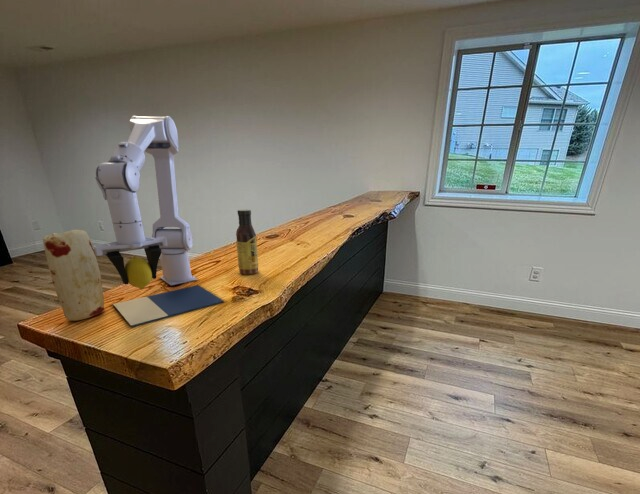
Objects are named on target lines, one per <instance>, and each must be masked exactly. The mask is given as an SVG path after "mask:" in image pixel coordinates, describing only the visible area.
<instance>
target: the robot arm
mask: <svg viewBox="0 0 640 494" xmlns="http://www.w3.org/2000/svg"><path fill="white" fill-rule="evenodd" d="M130 117H131V118H130V119H129V131H130V133H129V136H128V139H127V141H120V142H118V144H117V146H116V148H115V150H114V151H113V153H112V154H111V155H110V157H109V159H108V160H107V161H106V162H101V163H100V164H99V165H97V166H96V168H95V177H94V178H95V182H96V184H97V186H98V188H99V189H100V191H101V194H102V197H103V199H104V200H105V201H106V202H107V205H108V206H107V207H108V210H109V215H110V219H111V223H112V227H113V231H114V232H113V233H114V236H115V241H111V242H107V243H102V244H94V245H92V247H93V250H94V253H95V256H96V257H100V256H104V255H105V256H106V257H107V259H108V260H109V261H110V262H111V264H112V265H113V267H114V268H115V269H116V271H117V272H118V274H119V277H120V279H121V281H122V283H123V284H124V285H130V283H129V282H128V278H127V275H126V272H125V261H124V260H125V259H124V257H123V256H122V253H123V252H124V253H125V252H132V251H136V250H137V251H138V250H144V253H145V256H146V261H147V262H148V264H149V265H150V268H151V271H152V280H156V279H157V272H158V266H159V265H158V264H159V262H160V266H161V273H162V275H161V276H160V277H159V279H160V280H162V281H163V282H165V283H167V284H168V285H169V286H175V285H181V284H185V283H190V282H195V281H197V280H198V278H197V277H195V276H194V275H192V270H191V269H192V268H191V261H190V256H189V251H190V250H191V249H192V248H193V243H194V241H193V240H194V239H193V234H192V230H191V226H190V223H188V222H187V221H186V220H184V219H183V218H182V217H180V213H179V203H178V202H179V201H178V192H177V182H176V171H175V170H176V169H175V155H176V154H178V153H179V152H180V151H179V135H178V128H177V126H176V123H175V121H174V119H173V118H172V117H171V116H170V115H166V116H141V115H140V116H138V115H132V116H130ZM145 153H146V154H149V155H151V156H152V157H153V159H154V168H155V169H154V170H155V178H156V188H157V198H158V207H159V218H158V219H156V221H154V223H152V233H151V237H146V235H145V229H144V224H143V219H142V215H141V210H140V206H139V205H140V204H139V199H138V193H137V191H138V190H139V189H140V185H141V184H140V178H141V173H140V171H141V170H142V168H143V166H144V164H145V162H146V154H145Z"/></svg>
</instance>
